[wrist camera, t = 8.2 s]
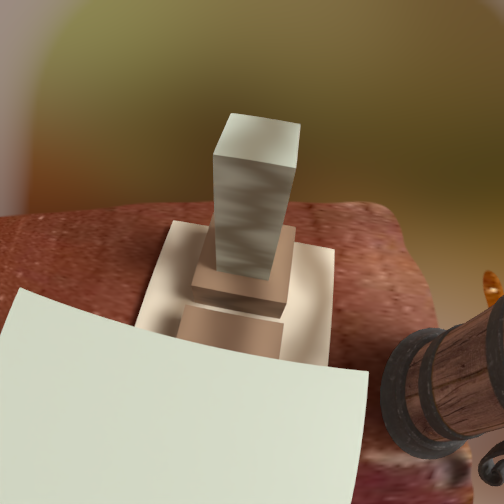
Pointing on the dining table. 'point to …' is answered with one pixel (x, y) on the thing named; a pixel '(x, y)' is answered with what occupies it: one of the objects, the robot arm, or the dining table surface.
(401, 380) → the tankard
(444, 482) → the dining table surface
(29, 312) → the sage column
